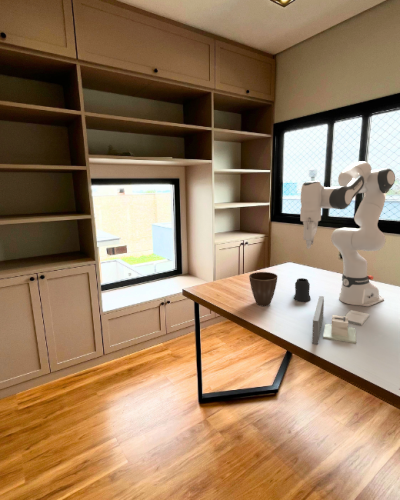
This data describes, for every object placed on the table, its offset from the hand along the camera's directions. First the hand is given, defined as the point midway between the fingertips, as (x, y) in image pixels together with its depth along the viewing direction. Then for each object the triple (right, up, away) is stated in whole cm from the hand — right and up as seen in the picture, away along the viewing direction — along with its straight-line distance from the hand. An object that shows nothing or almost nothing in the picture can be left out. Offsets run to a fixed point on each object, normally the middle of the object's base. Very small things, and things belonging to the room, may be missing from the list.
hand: (310, 246), depth 136 cm
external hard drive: (+21, -34, 0) cm, 40 cm away
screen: (+1, -37, -8) cm, 37 cm away
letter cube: (+7, -36, -14) cm, 40 cm away
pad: (+7, -37, -13) cm, 40 cm away
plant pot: (-17, -31, +23) cm, 42 cm away
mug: (+6, -29, +28) cm, 41 cm away
